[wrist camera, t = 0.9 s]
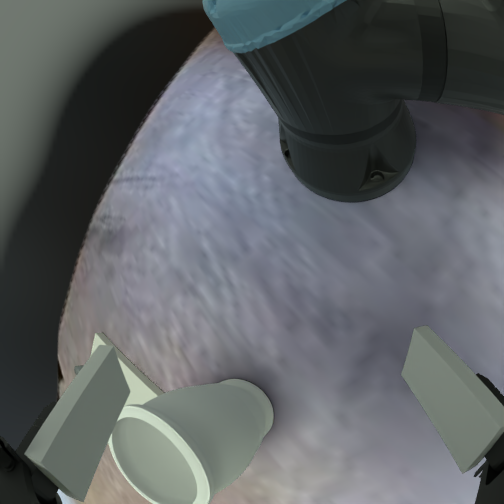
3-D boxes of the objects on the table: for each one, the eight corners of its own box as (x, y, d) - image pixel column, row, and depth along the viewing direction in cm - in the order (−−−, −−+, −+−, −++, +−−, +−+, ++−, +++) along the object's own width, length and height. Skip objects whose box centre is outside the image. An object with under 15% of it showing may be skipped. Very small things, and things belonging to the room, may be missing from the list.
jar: (258, 355, 28) (162, 392, 15) (299, 435, 25) (234, 518, 11) (189, 384, 31) (91, 414, 18) (224, 453, 28) (142, 510, 14)
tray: (102, 332, 40) (78, 333, 35) (182, 407, 31) (156, 418, 27) (87, 409, 40) (67, 413, 35) (151, 478, 31) (131, 489, 27)
